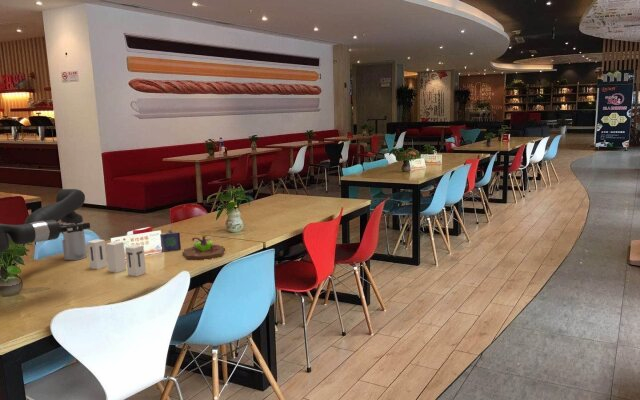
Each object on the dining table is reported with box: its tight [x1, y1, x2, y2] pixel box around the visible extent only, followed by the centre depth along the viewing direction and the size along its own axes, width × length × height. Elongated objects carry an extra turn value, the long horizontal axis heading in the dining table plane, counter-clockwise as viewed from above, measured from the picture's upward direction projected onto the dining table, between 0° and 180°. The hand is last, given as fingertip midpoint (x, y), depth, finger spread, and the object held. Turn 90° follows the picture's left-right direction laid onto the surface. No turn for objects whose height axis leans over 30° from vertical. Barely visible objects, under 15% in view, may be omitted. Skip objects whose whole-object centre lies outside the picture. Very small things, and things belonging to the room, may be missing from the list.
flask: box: [159, 228, 182, 253], centre depth 257 cm, size 9×3×11 cm, turn 109°
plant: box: [181, 232, 226, 261], centre depth 247 cm, size 20×20×11 cm
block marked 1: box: [86, 238, 108, 270], centre depth 227 cm, size 5×5×12 cm
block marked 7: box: [124, 244, 147, 277], centre depth 215 cm, size 5×5×12 cm
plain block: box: [105, 240, 127, 274], centre depth 221 cm, size 5×5×12 cm
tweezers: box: [192, 237, 212, 245], centre depth 275 cm, size 17×5×2 cm, turn 156°
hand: (83, 224), depth 207 cm, fingers open, 8 cm apart
